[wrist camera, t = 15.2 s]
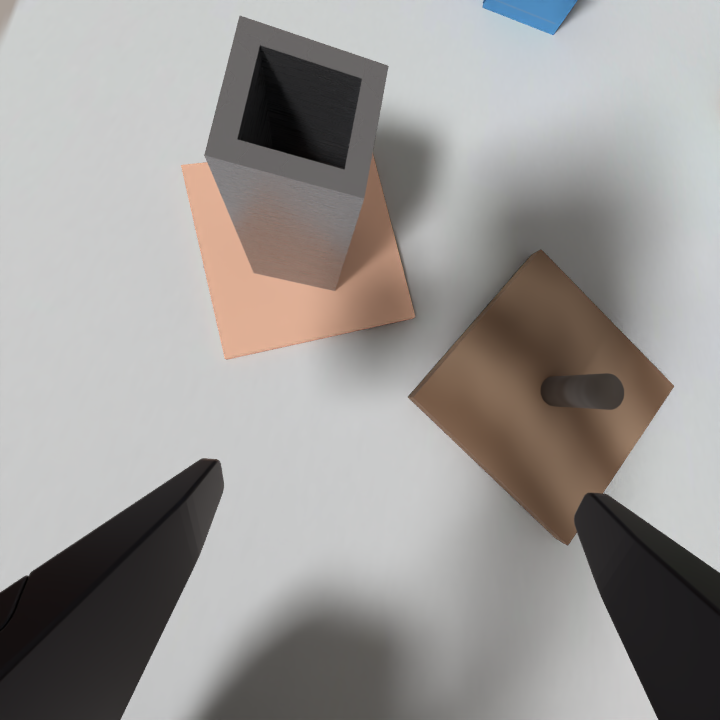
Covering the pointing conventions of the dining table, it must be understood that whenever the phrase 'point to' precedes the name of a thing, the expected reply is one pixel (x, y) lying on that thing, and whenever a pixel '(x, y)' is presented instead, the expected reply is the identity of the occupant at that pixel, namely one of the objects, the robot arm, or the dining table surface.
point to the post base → (512, 400)
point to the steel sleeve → (294, 149)
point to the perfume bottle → (533, 12)
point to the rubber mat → (290, 299)
